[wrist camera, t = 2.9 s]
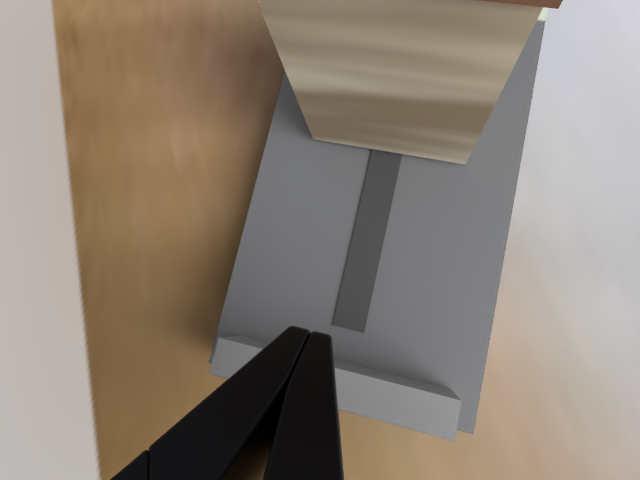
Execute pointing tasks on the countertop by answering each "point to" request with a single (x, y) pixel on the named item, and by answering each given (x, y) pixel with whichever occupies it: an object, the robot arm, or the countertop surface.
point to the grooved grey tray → (381, 260)
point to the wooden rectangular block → (400, 68)
